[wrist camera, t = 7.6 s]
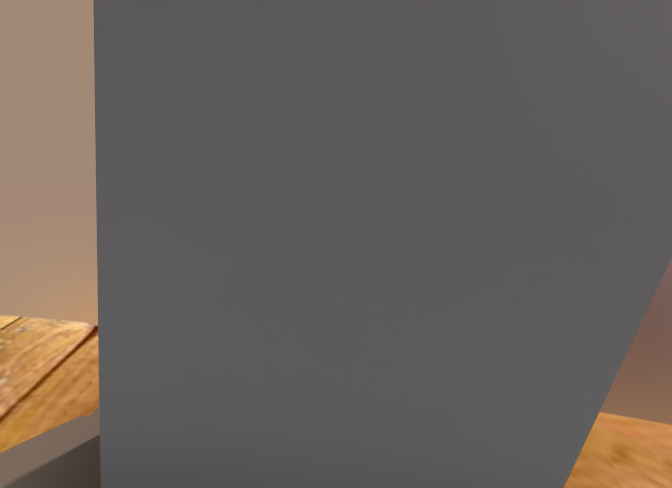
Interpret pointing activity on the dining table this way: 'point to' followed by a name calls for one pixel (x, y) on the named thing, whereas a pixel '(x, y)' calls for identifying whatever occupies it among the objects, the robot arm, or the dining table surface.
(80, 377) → the dining table surface
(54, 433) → the robot arm
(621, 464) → the dining table surface
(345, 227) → the slate box
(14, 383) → the dining table surface
